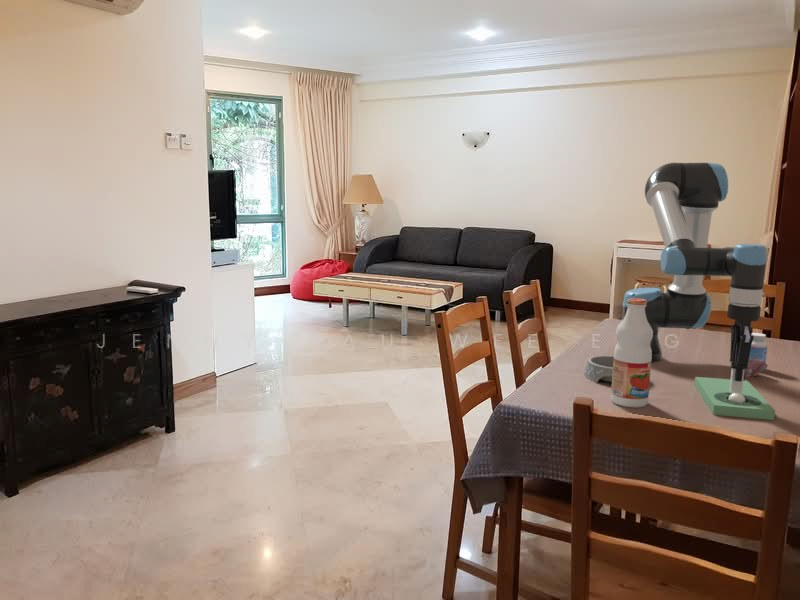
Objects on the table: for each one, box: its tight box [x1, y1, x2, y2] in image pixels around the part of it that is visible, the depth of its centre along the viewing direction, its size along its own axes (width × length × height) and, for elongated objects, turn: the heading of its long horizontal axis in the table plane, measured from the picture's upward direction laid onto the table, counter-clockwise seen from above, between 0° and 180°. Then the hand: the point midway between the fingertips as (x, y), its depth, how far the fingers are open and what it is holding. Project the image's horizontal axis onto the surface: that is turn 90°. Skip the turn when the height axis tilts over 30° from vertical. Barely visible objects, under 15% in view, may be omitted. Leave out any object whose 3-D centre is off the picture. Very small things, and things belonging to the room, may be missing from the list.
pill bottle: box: [749, 332, 768, 364], centre depth 210 cm, size 6×6×11 cm
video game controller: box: [743, 359, 768, 379], centre depth 201 cm, size 10×5×7 cm, turn 114°
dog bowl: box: [583, 355, 614, 384], centre depth 198 cm, size 17×18×5 cm
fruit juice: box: [610, 298, 653, 409], centre depth 173 cm, size 9×9×28 cm
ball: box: [728, 393, 745, 403], centre depth 172 cm, size 4×4×4 cm
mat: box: [693, 376, 776, 421], centre depth 178 cm, size 26×14×2 cm, turn 166°
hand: (735, 391), depth 174 cm, fingers closed
